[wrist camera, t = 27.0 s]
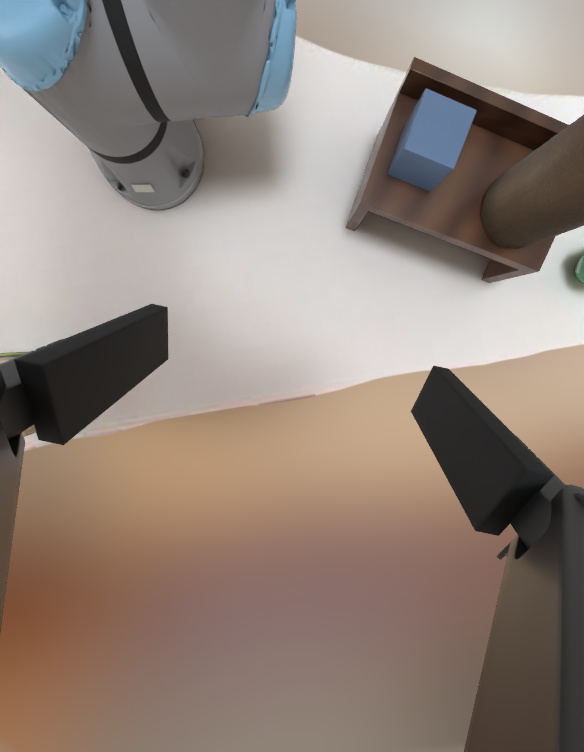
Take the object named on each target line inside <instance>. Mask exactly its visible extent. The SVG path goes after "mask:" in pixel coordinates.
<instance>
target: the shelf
mask: <svg viewBox="0 0 584 752" xmlns="http://www.w3.org/2000/svg"><path fill="white" fill-rule="evenodd" d="M426 88H427V89H429V90H431V91H434V92H436V93H438V94H441V95H443V96H445V97H447V98H450V99H452V100H454V101H457V102H459V103H461V104H464V105H466V106H468V107H471V108H473V109H475V110H477V111H476V114H475V116H474V119H473V121H472V124H471V127H470V129H469V132H468V134H467V137H466V139H465V142H464V144H463V147H462V149H461V152H460V155H459V157H458V160H457V162H456V165H455V167H454V169H453V170H452V171H451V172H450V173H449V174H448V175H447V176H446V177H445V178H444V179H443V180H442V181H441V182H440V183H439V184H438V185H437V186H436V187H435V188H434V189H432V190H431V191H430V192H429V191H427V190H424V189H422V188H420V187H417V186H415V185H412V184H410V183H407V182H405V181H402V180H400V179H397V178H395V177H392V176H390V175H387V173H388V170H389V168H390V165H391V162H392V159H393V156H394V154H395V151H396V148H397V145H398V143H399V140H400V137H401V134H402V131H403V129H404V126H405V123H406V122H407V120H408V118H409V116H410V115H411V113H412V111H413V109H414V108H415V106H416V104H417V103H418V101H419V99H420V97H421V96H422V94H423V92H424V90H425V89H426ZM568 126H569V125H567V124H565V123H563V122H561V121H558V120H556V119H554V118H552V117H549V116H547V115H545V114H543V113H540V112H538V111H536V110H533V109H531V108H529V107H527V106H524V105H522V104H520V103H518V102H515V101H513V100H511V99H509V98H506V97H504V96H502V95H499V94H497V93H495V92H493V91H490V90H488V89H486V88H484V87H481V86H479V85H477V84H475V83H472V82H470V81H468V80H466V79H463V78H461V77H459V76H456V75H454V74H452V73H450V72H447V71H445V70H443V69H440V68H438V67H436V66H434V65H431V64H429V63H427V62H424V61H422V60H420V59H418V58H415V57H414V59H413V61H412V63H411V65H410V67H409V70H408V72H407V74H406V76H405V78H404V80H403V83H402V84H401V87H400V89H399V91H398V93H397V95H396V97H395V99H394V101H393V104H392V106H391V108H390V110H389V112H388V114H387V116H386V118H385V121H384V123H383V125H382V127H381V129H380V131H379V133H378V136H377V139H376V141H375V144H374V147H373V150H372V153H371V156H370V159H369V162H368V164H367V167H366V170H365V173H364V176H363V179H362V182H361V185H360V188H359V190H358V193H357V196H356V199H355V202H354V205H353V208H352V211H351V213H350V216H349V219H348V222H347V225H346V228H348V229H351V230H353V231H355V230H356V229H357V227H358V226H359V224H360V223H361V221H362V220H363V218H364V217H365V216H366V214H367V213H368V211H370V212H372V213H375V214H377V215H380V216H382V217H385V218H388V219H390V220H393V221H395V222H398V223H400V224H403V225H406V226H408V227H411V228H413V229H416V230H418V231H421V232H424V233H426V234H429V235H431V236H434V237H436V238H439V239H441V240H444V241H447V242H449V243H452V244H454V245H457V246H459V247H462V248H465V249H467V250H470V251H472V252H475V253H477V254H480V255H483V256H485V257H488V258H490V262H489V264H488V266H487V269H486V271H485V273H484V276H483V278H482V280H484V281H487V282H489V283H491V282H496V281H500V280H504V279H509V278H513V277H517V276H521V275H526V274H530V273H534V272H538V271H540V268H541V266H542V264H543V262H544V260H545V258H546V255H547V253H548V251H549V249H550V247H551V245H552V242H553V240H554V238H555V236H553V237H551V238H548V239H545V240H542V241H540V242H537V243H534V244H531V245H529V246H526V247H522V248H517V249H516V248H503V247H501V246H499V245H498V244H496V243H495V242H493V241H492V240H491V239H490V238H489V237H488V235H487V233H485V230H484V228H483V226H482V221H481V210H482V205H483V200H484V197H485V195H486V192H487V191H488V189H489V187H490V186H491V185H492V184H493V182H494V181H495V180H496V179H497V178H498V177H500V176H501V175H502V174H503V173H505V172H506V171H507V170H508V169H510V168H511V167H513V166H514V165H515V164H517V163H518V162H520V161H521V160H522V159H524V158H525V157H527V156H528V155H529V154H530V153H532V152H533V151H535V150H536V149H537V148H539V147H540V146H542V145H543V144H544V143H546V142H547V141H549V140H550V139H551V138H552V137H554V136H555V135H557V134H558V133H559V132H561V131H562V130H564V129H565V128H567V127H568Z"/></svg>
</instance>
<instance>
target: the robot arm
mask: <svg viewBox="0 0 584 752" xmlns="http://www.w3.org/2000/svg"><path fill="white" fill-rule="evenodd" d="M295 1H296V0H0V66H1V67H2V69H3V70H4V71H5V73H6V74H7V75H8V76H9V77H10V79H12V80H13V81H14V82H15V83H16V84H18V85H19V86H20V87H22V88H23V89H24V90H25V91H26V92H27V93H28V94H29V95H30V96H32V97H33V98H34V99H35V100H36V101H37V102H38V103H39V104H40V105H42V106H43V107H44V108H45V109H46V110H47V111H48V112H49V113H51V114H52V115H53V116H54V117H55V118H56V119H57V120H58V121H59V122H61V123H62V124H63V125H64V126H65V127H66V128H67V129H68V130H69V131H71V132H72V133H73V134H74V135H75V136H76V137H77V138H78V139H79V140H81V141H82V142H83V143H84V144H85V145H86V146H87V147H88V148H89V149H90V151H91V153H92V155H93V157H94V159H95V160H96V162H97V164H98V166H99V168H100V170H101V171H102V173H103V175H104V176H105V178H106V179H107V180H108V182H109V183H110V184H111V185H112V186H113V188H114V189H115V190H117V191H118V192H119V193H120V194H121V195H122V196H124V197H125V198H126V199H127V200H129V201H130V202H132V203H134V204H136V205H138V206H140V207H143V208H147V209H153V210H162V209H168V208H172V207H174V206H177V205H178V204H180V203H182V202H183V201H185V200H186V199H187V198H188V197H189V196H190V195H191V194H192V193H193V191H194V190H195V188H196V187H197V185H198V183H199V181H200V178H201V175H202V171H203V165H204V152H203V146H202V142H201V138H200V135H199V133H198V131H197V128H196V126H195V124H194V122H193V120H194V119H206V118H217V117H229V116H241V115H245V116H252V115H253V114H254V113H257V112H263V111H269V110H274V109H276V108H277V107H279V106H280V105H281V104H282V103H283V102H284V100H285V98H286V96H287V93H288V90H289V86H290V81H291V75H292V68H293V59H294V48H295V34H296V6H295ZM166 360H168V310H167V307H164V306H159V305H155V304H150V305H148V306H145V307H143V308H140V309H138V310H135V311H133V312H130V313H128V314H125V315H123V316H120V317H118V318H116V319H113V320H111V321H108V322H106V323H103V324H101V325H98V326H96V327H93V328H91V329H88V330H86V331H83V332H81V333H78V334H76V335H74V336H71V337H69V338H66V339H61V340H58V341H56V342H53V343H51V344H48V345H47V346H43V347H41V348H38V349H36V351H31V352H28V353H26V354H23V355H21V356H18V357H16V358H13V359H11V360H8V361H6V362H3V363H1V364H0V631H1V623H2V616H3V608H4V600H5V593H6V585H7V577H8V569H9V562H10V554H11V546H12V538H13V530H14V524H15V515H16V508H17V500H18V492H19V485H20V477H21V469H22V461H23V454H24V447H25V440H24V437H23V434H22V432H23V431H25V430H26V429H28V428H29V427H31V426H32V425H34V426H35V429H36V433H37V436H38V439H39V440H42V441H47V442H51V443H56V444H62V445H64V444H65V443H67V442H68V441H69V440H70V439H71V438H73V437H74V436H75V435H76V434H77V433H79V432H80V431H81V430H82V429H84V428H85V427H86V426H87V425H88V424H90V423H91V422H92V421H93V420H95V419H96V418H97V417H98V416H99V415H101V414H102V413H103V412H104V411H106V410H107V409H108V408H109V407H110V406H112V405H113V404H114V403H115V402H116V401H118V400H119V399H120V398H121V397H123V396H124V395H125V394H126V393H127V392H129V391H130V390H131V389H132V388H134V387H135V386H136V385H137V384H138V383H140V382H141V381H142V380H143V379H145V378H146V377H147V376H148V375H149V374H151V373H152V372H153V371H154V370H155V369H157V368H158V367H159V366H160V365H162V364H163V363H164V362H165V361H166ZM411 412H412V414H413V416H414V418H415V420H416V421H417V423H418V425H419V427H420V429H421V431H422V433H423V435H424V436H425V438H426V440H427V442H428V444H429V446H430V447H431V449H432V451H433V453H434V455H435V457H436V459H437V461H438V462H439V464H440V466H441V468H442V470H443V472H444V474H445V475H446V477H447V479H448V481H449V483H450V485H451V487H452V488H453V490H454V492H455V494H456V496H457V498H458V500H459V501H460V503H461V505H462V507H463V509H464V510H465V513H466V514H467V516H468V518H469V520H470V522H471V524H472V526H473V527H474V529H475V531H479V532H484V533H488V534H493V535H498V536H499V535H500V534H501V533H502V531H503V530H504V529H505V528H506V527H507V526H508V525H509V524H510V523H511V525H512V526H513V528H514V529H515V531H516V532H517V534H518V535H517V536H516V537H515V538H514V539H513V540H512V541H511V542H510V543H509V544H508V545H507V546H506V547H505V548H504V549H503V550H502V551H501V552H500V553H499V554H498V556H497V557H498V558H499V559H502V558H503V557H504V556H507V560H506V565H505V569H504V574H503V578H502V583H501V587H500V592H499V596H498V601H497V605H496V610H495V615H494V619H493V623H492V628H491V632H490V637H489V641H488V646H487V650H486V655H485V659H484V664H483V668H482V672H481V677H480V682H479V686H478V690H477V695H476V700H475V704H474V709H473V713H472V717H471V722H470V726H469V731H468V736H467V740H466V744H465V749H464V752H584V489H583V488H581V487H577V486H573V485H565V484H564V483H563V482H562V481H561V480H560V479H559V478H558V477H557V476H556V475H555V474H554V473H553V472H552V471H551V470H550V469H549V468H548V467H547V466H546V465H545V464H544V463H543V462H542V461H541V460H540V459H539V458H537V457H536V455H535V454H534V453H533V452H532V451H531V450H530V449H528V447H527V446H526V445H525V444H524V443H523V442H522V441H521V440H520V439H519V438H518V437H517V436H515V435H514V434H513V433H512V432H511V431H510V430H509V429H508V428H507V427H506V426H505V425H504V424H503V423H502V422H501V421H500V420H499V419H498V418H497V417H496V416H495V415H494V414H493V413H492V412H491V411H490V410H489V409H488V408H487V407H486V406H485V405H484V404H483V403H482V402H481V401H480V400H479V399H478V398H477V397H476V396H475V395H474V394H473V393H472V392H471V391H470V390H469V389H468V388H467V387H466V386H465V385H464V384H463V383H462V382H461V381H460V380H459V379H458V378H457V377H456V376H455V375H454V374H453V373H452V372H451V371H450V370H449V369H447V368H442V367H437V366H433V368H432V370H431V372H430V374H429V376H428V378H427V380H426V382H425V384H424V386H423V388H422V390H421V392H420V394H419V396H418V398H417V400H416V402H415V404H414V406H413V408H412V410H411Z"/></svg>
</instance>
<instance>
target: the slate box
mask: <svg viewBox="0 0 584 752" xmlns="http://www.w3.org/2000/svg"><path fill="white" fill-rule="evenodd" d="M476 111H477V110H475V109H473V108H471V107H468V106H466V105H464V104H461V103H459V102H457V101H454V100H452V99H450V98H447V97H445V96H443V95H441V94H438V93H436V92H434V91H431V90H429V89H427V88H426V89H425V90H424V92H423V94H422V96H421V97H420V99H419V101H418V103H417V104H416V106H415V108H414V109H413V111H412V113H411V115H410V116H409V118H408V120H407V122H406V123H405V126H404V129H403V131H402V134H401V137H400V140H399V143H398V145H397V148H396V151H395V154H394V156H393V159H392V162H391V165H390V168H389V170H388V173H387V175H390V176H392V177H395V178H397V179H400V180H402V181H405V182H407V183H410V184H412V185H415V186H417V187H420V188H422V189H424V190H427V191H429V192H430V191H431V190H432V189H434V188H435V187H436V186H437V185H438V184H439V183H440V182H441V181H442V180H443V179H444V178H445V177H446V176H447V175H448V174H449V173H450V172H451V171H452V170H453V169H454V167H455V165H456V162H457V160H458V157H459V155H460V152H461V149H462V147H463V144H464V142H465V139H466V137H467V134H468V132H469V129H470V127H471V124H472V121H473V119H474V116H475V114H476Z"/></svg>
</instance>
